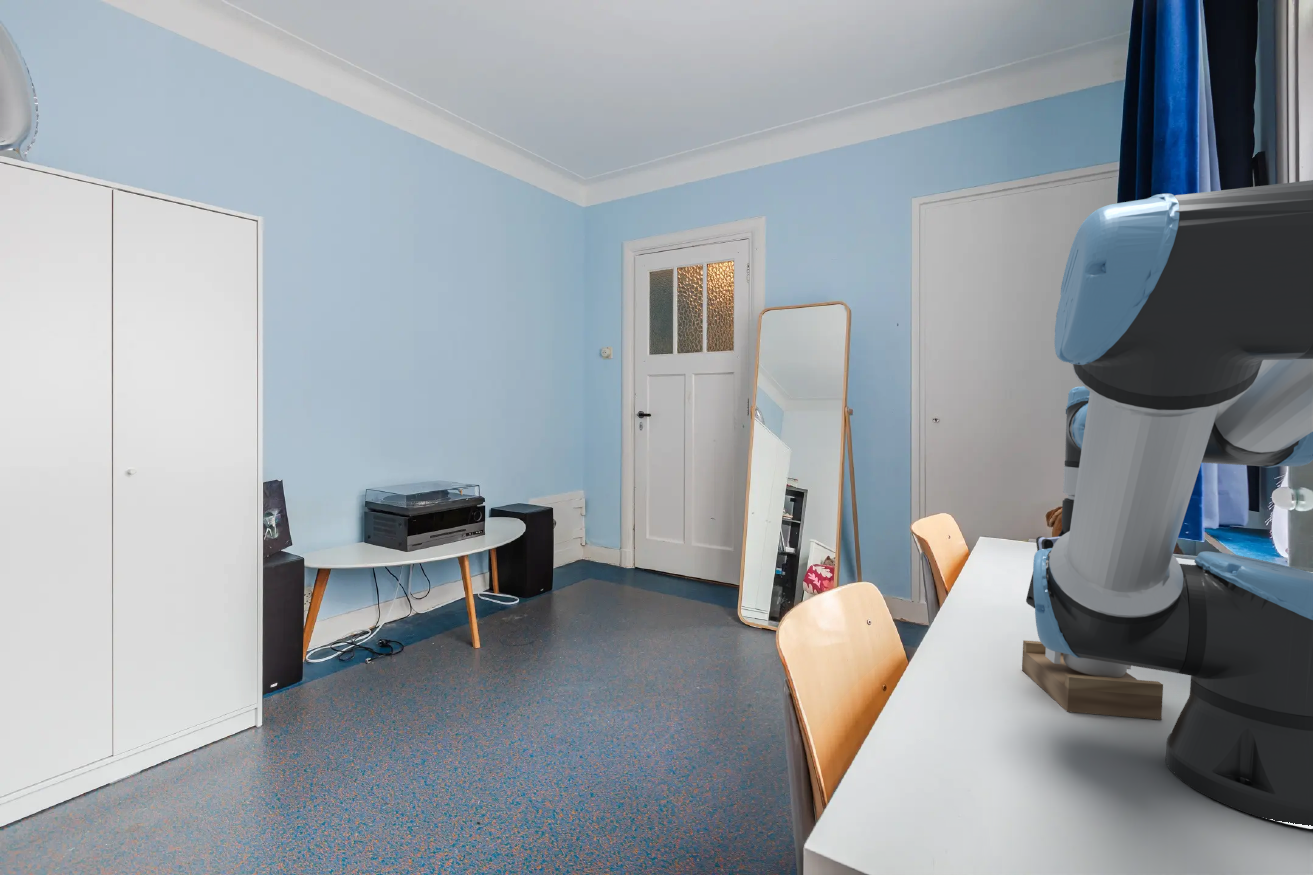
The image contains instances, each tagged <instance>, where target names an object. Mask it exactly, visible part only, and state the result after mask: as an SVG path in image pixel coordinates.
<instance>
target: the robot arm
mask: <svg viewBox="0 0 1313 875" xmlns="http://www.w3.org/2000/svg"><path fill="white" fill-rule="evenodd" d="M1063 272H1064V273H1063V277H1062V281H1061V286H1060V298H1059V301H1058V306H1057V307H1058V308H1057V310H1056V311H1057V312H1056V315H1055V317H1056V319H1055V326H1054V327H1055V328H1054V350H1055V355H1056V357H1057V358H1058V359H1059V361H1061V362H1063V363H1069V364H1070V365H1072V370H1073V373H1074V375H1075V377H1076V378H1077V380H1078V382H1079V383H1080V384H1081V386H1076V387H1073V388H1071V389H1070V390H1069V392H1068V393H1067V394H1068V396H1067V405H1066V408H1065V415H1066V417H1065V418H1066V420H1065V424H1066V425H1065V451H1064V452H1065V453H1064V454H1065V455H1064V457H1065V458H1064V467H1063V485H1062V489H1063V490H1062V492H1063V494H1064V495H1066V496H1067V497H1065V498H1064V500H1062V504H1061V505H1062V507H1061V508H1062V509H1061V530H1060V533H1058V535H1057V536H1052V537H1044V536H1041V535H1039V536H1038V537H1036V539H1035V544H1036V550H1037V551H1036V552H1035V553H1034V556H1033V565H1032V566H1033V568H1032V569H1033V571H1032V574H1031V579H1030V582H1029V586H1028V591H1027V595H1026V599H1025V602H1026V604H1027V605H1029V606H1031V608H1033V609H1034V610H1035V611H1034V614H1035V615H1034V616H1035V627H1036V632H1037V635H1038V639H1039V642H1041V643H1042V644H1043V645H1044V646H1045V647H1046V653H1045V657H1047V658H1048V659H1049V660H1050V661H1052V662H1053V663H1054V664H1060V657H1061V653H1065V654H1069V655H1072V656H1074V657H1076V658H1088V659H1094V660H1100V661H1106V662H1112V663H1118V664H1124V665H1127V670H1131V669H1132V667H1138V668H1143V669H1150V670H1156V671H1163V672H1169V673H1173V674H1174V673H1175V674H1181V675H1185V676H1190V686H1189V694H1188V698H1187V700H1186V702H1185V703H1184V706H1183V708H1182V709H1181V712H1180V714H1179V715H1178V717H1177V719H1176V721H1175V724H1174V726H1173V728H1172V730H1171V732H1170V733H1169V735H1168V736H1167V739H1166V743H1165V744H1166V746H1165V764H1166V765H1167V767H1168V769H1169V770H1170V771H1171V773H1173V775H1175V777H1177V778H1178V779H1179V780H1181V781H1182V782H1183V783H1185V784H1186V785H1188V786H1189V787H1191V788H1192V789H1194V790H1195V791H1197V792H1199V793H1201V794H1203V795H1205V796H1206V797H1208V798H1211V799H1212V800H1215V801H1217V802H1220V803H1222V804H1223V805H1226V806H1228V807H1231V808H1233V809H1236V810H1238V811H1241V812H1242V813H1245V814H1248V815H1251V814H1252V815H1251V816H1255V817H1257V816H1258V818H1260V817H1264V818H1267V819H1273V820H1275V821H1282V822H1288V823H1289V822H1290V823H1293V824H1294V823H1295V824H1302V825H1308V826H1309V825H1311V826H1313V572H1311V571H1307V570H1303V569H1299V568H1298V567H1297V568H1296V567H1292V566H1289V565H1285V564H1281V563H1277V562H1272V561H1267V560H1263V559H1257V558H1253V557H1249V556H1244V555H1243V556H1242V555H1238V554H1231V553H1226V552H1216V551H1210V550H1209V551H1208V550H1207V551H1206V550H1205V551H1200V552H1199V553H1198V554H1197V556H1196V557H1195V558H1194V564H1187V563H1179V561H1178V560H1177V558H1176V556H1175V555H1174V551H1175V548H1176V545H1177V542H1178V538H1179V535H1180V532H1181V529H1182V526H1183V522H1184V519H1185V516H1186V513H1187V510H1188V507H1189V504H1190V500H1191V496H1192V494H1193V491H1194V488H1195V484H1196V481H1197V477H1198V474H1199V471H1200V469H1201V468H1200V467H1201V466H1202V463H1203V464H1218V465H1220V464H1221V465H1236V466H1237V465H1240V466H1253V467H1254V466H1256V467H1261V468H1269V469H1270V468H1275V467H1302V466H1306V465H1309V464H1310V463H1311V462H1313V179H1311V180H1310V179H1309V180H1302V181H1301V180H1300V181H1293V182H1286V183H1285V182H1284V183H1274V184H1268V185H1267V184H1266V185H1260V186H1259V185H1257V186H1251V187H1250V186H1249V187H1240V188H1232V189H1223V190H1213V191H1212V190H1211V191H1202V192H1196V193H1195V192H1193V193H1187V194H1185V193H1184V194H1176V195H1174V194H1172V193H1160V194H1154V195H1152V196H1151V197H1147V198H1144V199H1138V200H1129V201H1126V202H1125V201H1124V202H1123V201H1122V202H1118V203H1113V204H1108V205H1105V206H1102V207H1099V208H1097V209H1096V210H1095V211H1093V212H1092V213H1090V214H1089V215H1088V216H1087V217H1086V218H1085V220H1083V222H1082V223H1081V225H1080V227H1079V228H1078V230H1077V232H1076V234H1075V237H1074V240H1073V242H1072V243H1071V248H1070V250H1069V253H1068V257H1067V261H1066V264H1065V268H1064V271H1063ZM1267 819H1266V820H1267Z"/></svg>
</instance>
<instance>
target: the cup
mask: <svg viewBox="0 0 1313 875" xmlns="http://www.w3.org/2000/svg"><path fill="white" fill-rule="evenodd" d="M1063 660H1064V662H1065V664H1066V665H1067V666H1068V667H1070V668H1072V669H1074V670H1076V671H1079V672H1082V673H1085V674H1089V675H1093V676H1098V677H1108V678H1119V677H1122V676H1124V675H1125V673H1126V672H1127V670H1128V669H1127V665H1124V664H1118V663H1112V662H1106V661H1100V660H1094V659H1088V658H1076V657H1074V656H1072V655H1069V654H1065V653H1063Z"/></svg>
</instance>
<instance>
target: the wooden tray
mask: <svg viewBox="0 0 1313 875" xmlns="http://www.w3.org/2000/svg"><path fill="white" fill-rule="evenodd" d="M1022 641H1023V642H1022V643H1023V644H1022V664H1021V671H1022V672H1023V673H1024V674H1025V675H1027V676H1028V677H1029V679H1031V680H1032V681H1033V682H1034V683H1035V684H1037V685H1038V686H1039V688H1041V689H1042V690H1043V691H1044V692H1045V693H1046V694H1048V696H1050V697H1051V698H1052V699H1053V700H1054V701H1056V703H1057V704H1059V706H1061V707H1062V708H1063V710H1065V711H1066V712H1068V713H1079V714H1093V715H1102V716H1115V717H1124V718H1137V719H1146V720H1147V719H1149V720H1159V721H1160V720H1162V712H1163V694H1164V684H1163V683H1162V682H1160V681H1157V680H1156V681H1154V680H1144V679H1137V678H1136V677H1134V676H1133V675H1131V674H1130V673H1128V672H1127V671H1126V673H1125V675H1124V676H1122V677H1119V678H1108V677H1098V676H1093V675H1089V674H1085V673H1082V672H1079V671H1076V670H1074V669H1072V668H1070V667H1068V666H1067V665H1066V664H1065V662H1064V660H1063V653H1061V657H1060V664H1054V663H1053V662H1052V661H1050V660H1049V659H1048V658H1047V657H1045V653H1046V647H1045V646H1044V645H1043V644H1042V643H1041V641H1036V640H1035V641H1034V640H1022Z"/></svg>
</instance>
